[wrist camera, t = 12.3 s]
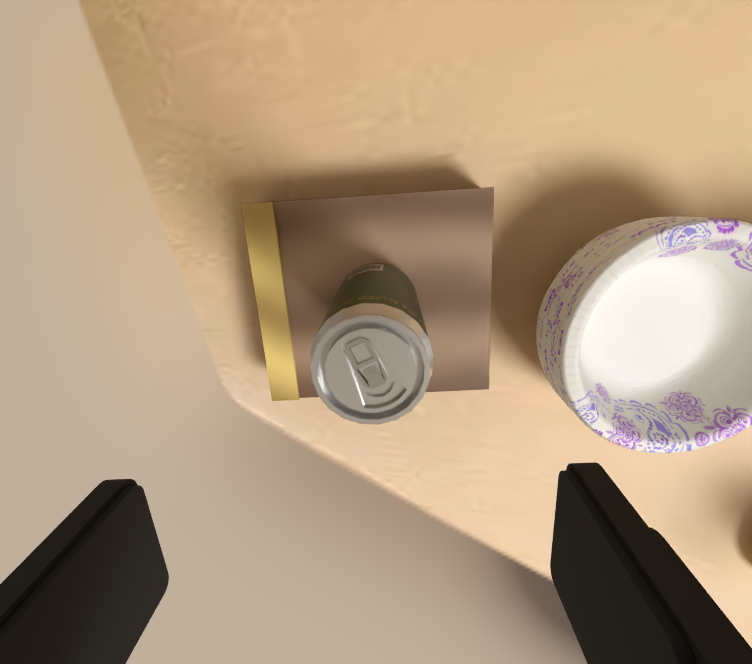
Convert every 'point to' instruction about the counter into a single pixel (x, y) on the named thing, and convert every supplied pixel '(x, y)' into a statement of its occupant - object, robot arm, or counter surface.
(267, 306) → the gold striped gift box
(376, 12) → the counter surface
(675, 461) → the counter surface
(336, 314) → the beer can
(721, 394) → the paper bowls
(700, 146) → the counter surface
